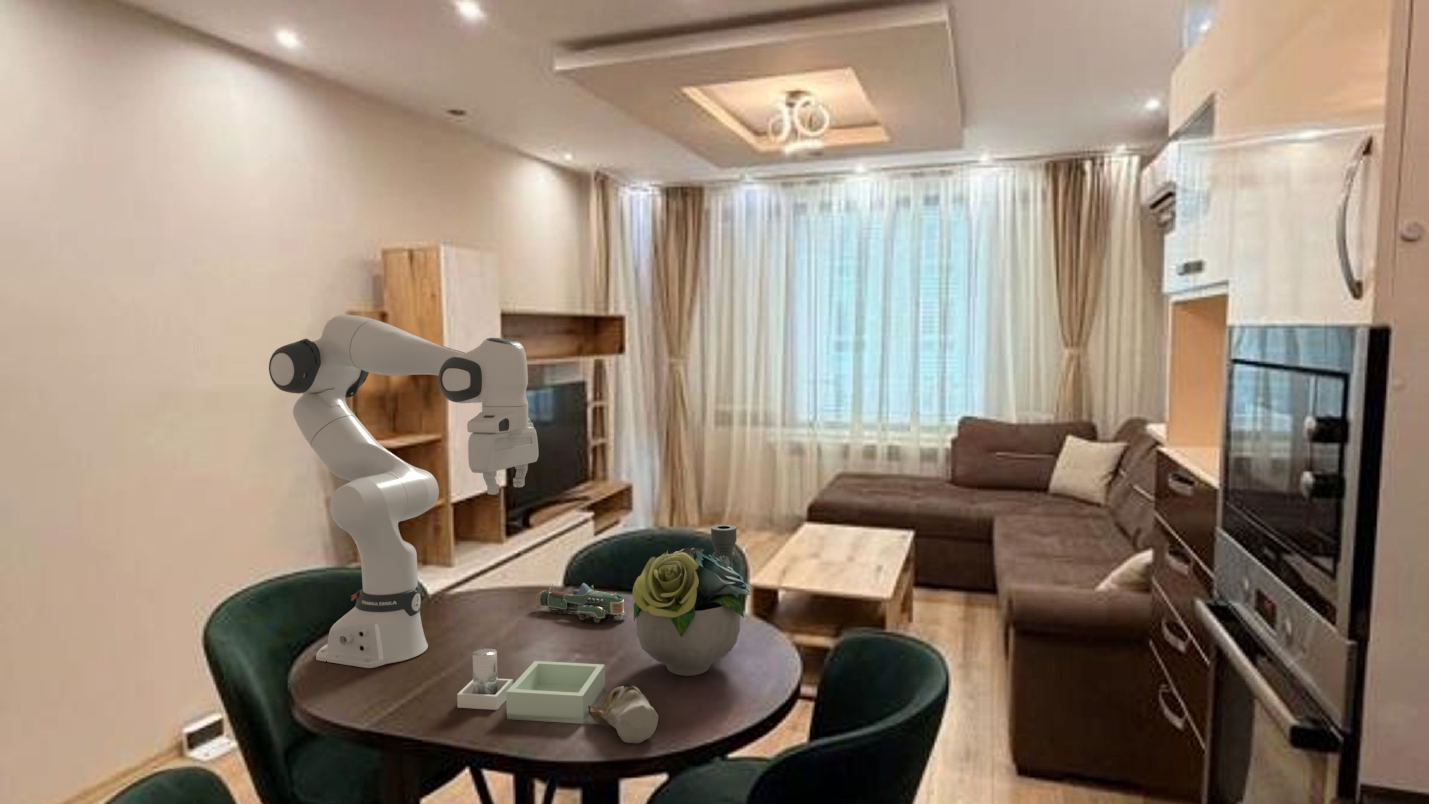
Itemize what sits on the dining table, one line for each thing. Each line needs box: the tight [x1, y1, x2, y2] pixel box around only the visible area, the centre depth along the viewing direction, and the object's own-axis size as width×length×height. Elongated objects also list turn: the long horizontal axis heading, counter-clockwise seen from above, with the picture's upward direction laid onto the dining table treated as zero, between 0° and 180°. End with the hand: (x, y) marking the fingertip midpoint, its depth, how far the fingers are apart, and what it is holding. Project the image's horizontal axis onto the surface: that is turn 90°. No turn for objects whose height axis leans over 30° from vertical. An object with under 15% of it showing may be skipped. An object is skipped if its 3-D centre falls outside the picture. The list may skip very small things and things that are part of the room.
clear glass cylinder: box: [471, 648, 499, 695], centre depth 152 cm, size 4×4×9 cm
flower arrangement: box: [632, 547, 753, 677], centre depth 165 cm, size 25×25×24 cm
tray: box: [505, 660, 606, 725], centre depth 150 cm, size 14×14×5 cm
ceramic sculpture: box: [588, 682, 659, 744], centre depth 140 cm, size 11×9×15 cm
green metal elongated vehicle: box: [535, 582, 628, 624], centre depth 199 cm, size 10×25×8 cm, turn 68°
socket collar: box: [456, 678, 514, 711], centre depth 153 cm, size 8×8×2 cm
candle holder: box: [710, 524, 739, 598], centre depth 184 cm, size 6×6×25 cm
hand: (506, 490), depth 161 cm, fingers open, 8 cm apart
